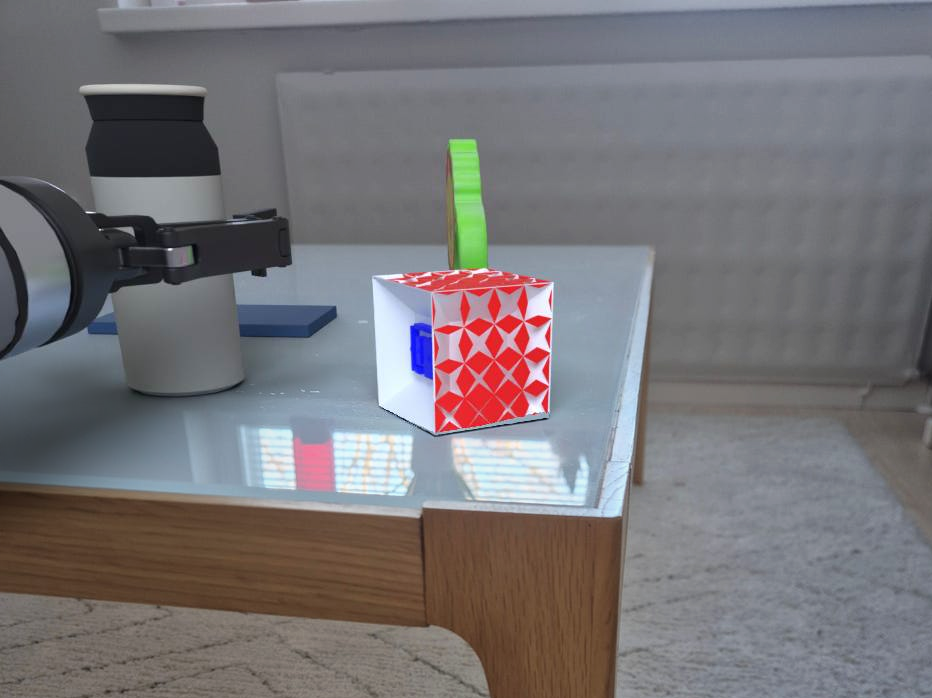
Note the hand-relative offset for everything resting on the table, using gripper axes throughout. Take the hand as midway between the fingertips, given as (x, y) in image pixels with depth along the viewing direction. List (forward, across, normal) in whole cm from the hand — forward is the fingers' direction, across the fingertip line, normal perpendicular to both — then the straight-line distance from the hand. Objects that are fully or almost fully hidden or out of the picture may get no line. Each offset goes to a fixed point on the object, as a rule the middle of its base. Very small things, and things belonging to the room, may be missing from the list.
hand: (172, 229), depth 62 cm
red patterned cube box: (-7, +20, -10) cm, 24 cm away
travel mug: (-1, 0, -10) cm, 10 cm away
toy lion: (+15, +18, -10) cm, 25 cm away
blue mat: (+23, -6, -10) cm, 26 cm away
